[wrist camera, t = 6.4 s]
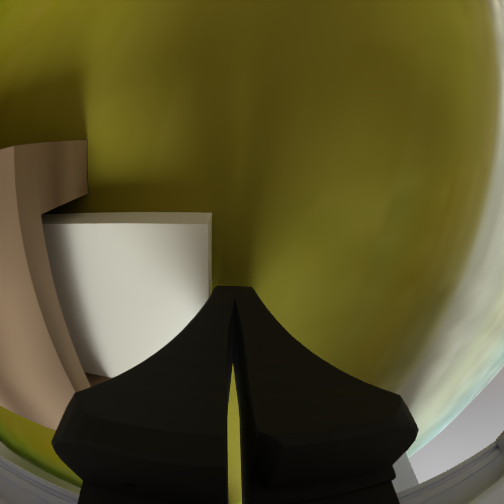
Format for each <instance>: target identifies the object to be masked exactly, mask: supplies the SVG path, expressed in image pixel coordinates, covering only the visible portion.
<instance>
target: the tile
mask: <svg viewBox="0 0 504 504" xmlns="http://www.w3.org/2000/svg"><path fill="white" fill-rule="evenodd" d="M41 217H42V225H43V232H44V238H45V244H46V249H47V254H48V259H49V264H50V269H51V273H52V277H53V281H54V285H55V289H56V293H57V296H58V300H59V304H60V307H61V310H62V313H63V317H64V320H65V323H66V326H67V329H68V332H69V335H70V337H71V340H72V343H73V346H74V348H75V351H76V353H77V356H78V358H79V361H80V363H81V366H82V368H83V370H84V372H86V373H90V374H95V375H100V376H106V377H111V378H113V377H116V376H118V375H120V374H122V373H123V372H125V371H127V370H129V369H131V368H133V367H134V366H136V365H138V364H140V363H141V362H143V361H144V360H146V359H147V358H149V357H150V356H152V355H153V354H155V353H156V352H157V351H159V350H160V349H161V348H163V347H164V346H165V345H166V344H168V343H169V342H170V341H171V340H172V339H173V338H174V337H175V336H177V335H178V334H179V333H180V332H181V331H182V330H183V329H184V328H185V327H186V325H187V324H188V323H189V322H190V321H191V320H192V319H193V318H194V317H195V315H196V314H197V313H198V312H199V310H200V309H201V308H202V307H203V305H204V304H205V303H206V301H207V300H208V298H209V297H210V295H211V294H212V213H200V212H103V213H67V214H43V215H41Z"/></svg>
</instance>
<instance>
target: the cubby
mask: <svg viewBox="0 0 504 504" xmlns="http://www.w3.org/2000/svg"><path fill="white" fill-rule="evenodd" d="M86 194H88V180H87V140H70V141H55V142H42V143H32V144H23V145H15V146H11V147H7V148H4V149H1V150H0V406H2V407H4V408H6V409H8V410H10V411H12V412H14V413H16V414H18V415H20V416H22V417H24V418H27V419H29V420H31V421H33V422H36V423H38V424H40V425H43V426H45V427H48V428H50V429H53V430H57V427H58V425H59V423H60V420H61V418H62V416H63V414H64V411H65V409H66V407H67V405H68V404H69V402H70V400H71V399H72V397H73V395H74V393H75V392H78V391H81V390H84V389H87V388H89V387H92V386H94V385H97V384H99V383H102V382H104V381H107V380H109V379H111V377H106V376H100V375H95V374H90V373H86V372H84V370H83V368H82V366H81V363H80V361H79V358H78V356H77V353H76V351H75V348H74V346H73V343H72V340H71V337H70V335H69V332H68V329H67V326H66V323H65V320H64V317H63V313H62V310H61V307H60V304H59V300H58V296H57V293H56V289H55V285H54V281H53V277H52V273H51V269H50V264H49V259H48V254H47V249H46V244H45V238H44V232H43V225H42V217H41V214H43V213H45V212H48V211H50V210H52V209H54V208H56V207H58V206H61V205H63V204H65V203H67V202H70V201H72V200H74V199H76V198H79V197H81V196H84V195H86Z"/></svg>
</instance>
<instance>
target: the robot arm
mask: <svg viewBox="0 0 504 504" xmlns="http://www.w3.org/2000/svg"><path fill="white" fill-rule="evenodd" d="M232 365H233V366H234V374H235V382H236V390H237V398H238V405H239V416H240V449H241V481H242V504H504V431H503V432H502V433H501V435H500V436H499V437H498V438H497V439H496V441H495V442H493V443H492V444H490V445H489V446H488V447H486V448H484V449H483V450H482V451H480V452H478V453H477V454H475V455H474V456H472V457H470V458H469V459H467V460H465V461H464V462H462V463H460V464H458V465H457V466H455V467H453V468H451V469H450V470H447V471H446V472H444V473H442V474H440V475H438V476H436V477H434V478H432V479H430V480H427V481H426V482H423V483H421V484H419V483H418V481H417V478H416V476H415V474H414V471H413V469H412V467H411V464H410V462H409V460H408V457H407V455H406V453H405V452H406V451H407V450H408V449H409V448H410V446H411V445H412V444H413V442H414V441H415V439H416V436H417V433H418V427H417V425H416V423H415V421H414V419H413V417H412V415H411V413H410V411H409V409H408V407H407V406H406V404H405V402H404V401H403V399H402V398H401V396H400V395H398V394H395V393H392V392H389V391H386V390H384V389H381V388H378V387H375V386H373V385H370V384H367V383H365V382H363V381H361V380H359V379H357V378H355V377H353V376H350V375H348V374H346V373H344V372H343V371H341V370H339V369H337V368H335V367H334V366H332V365H330V364H329V363H327V362H326V361H324V360H323V359H321V358H320V357H318V356H316V355H315V354H314V353H312V352H311V351H310V350H308V349H307V348H306V347H304V346H303V345H302V344H301V343H300V342H298V341H297V340H296V339H295V338H294V337H292V336H291V335H290V334H289V333H288V332H287V331H286V330H285V329H284V328H283V327H282V325H281V324H280V323H279V322H278V321H277V320H276V319H275V318H274V316H273V315H272V314H271V313H270V311H269V310H268V309H267V308H266V306H265V305H264V304H263V302H262V301H261V299H260V298H259V297H258V295H257V293H256V292H255V290H254V289H253V288H252V287H241V286H217V287H215V288H214V290H213V292H212V294H211V295H210V297H209V298H208V300H207V301H206V303H205V304H204V305H203V307H202V308H201V309H200V310H199V312H198V313H197V314H196V315H195V317H194V318H193V319H192V320H191V321H190V322H189V323H188V324H187V325H186V327H185V328H184V329H183V330H182V331H181V332H180V333H179V334H178V335H177V336H175V337H174V338H173V339H172V340H171V341H170V342H169V343H168V344H166V345H165V346H164V347H163V348H161V349H160V350H159V351H157V352H156V353H155V354H153V355H152V356H150V357H149V358H147V359H146V360H144V361H143V362H141V363H140V364H138V365H136V366H134V367H133V368H131V369H129V370H127V371H125V372H123V373H122V374H120V375H118V376H116V377H113V378H111V379H109V380H107V381H104V382H102V383H99V384H97V385H94V386H92V387H89V388H87V389H84V390H81V391H78V392H75V393H74V395H73V397H72V399H71V400H70V402H69V404H68V405H67V407H66V409H65V411H64V414H63V416H62V418H61V420H60V423H59V425H58V427H57V430H56V432H55V434H54V437H53V439H52V446H53V448H54V450H55V452H56V454H57V455H58V456H59V457H60V459H61V460H62V461H63V462H64V463H65V464H66V465H67V466H68V467H69V468H70V469H71V470H72V471H73V472H74V473H75V474H77V475H78V476H79V477H80V478H81V479H82V480H83V484H82V487H81V491H80V495H79V494H76V493H74V492H71V491H69V490H66V489H64V488H61V487H59V486H57V485H54V484H52V483H50V482H48V481H46V480H44V479H42V478H40V477H38V476H36V475H33V474H32V473H30V472H28V471H26V470H24V469H22V468H21V467H19V466H17V465H15V464H14V463H12V462H10V461H9V460H7V459H5V458H4V457H2V456H1V455H0V504H229V503H228V451H227V414H228V401H229V392H230V383H231V374H232Z"/></svg>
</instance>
